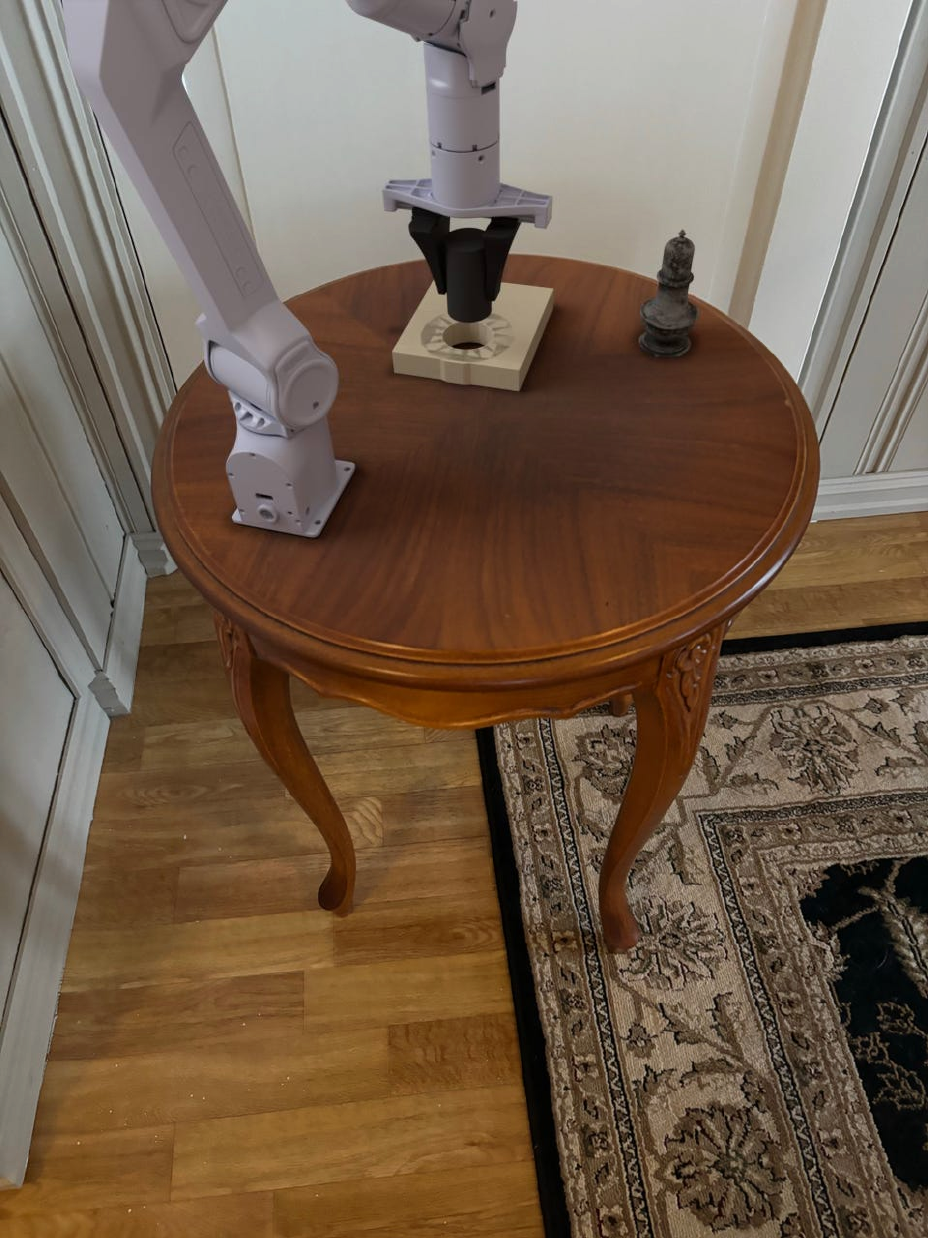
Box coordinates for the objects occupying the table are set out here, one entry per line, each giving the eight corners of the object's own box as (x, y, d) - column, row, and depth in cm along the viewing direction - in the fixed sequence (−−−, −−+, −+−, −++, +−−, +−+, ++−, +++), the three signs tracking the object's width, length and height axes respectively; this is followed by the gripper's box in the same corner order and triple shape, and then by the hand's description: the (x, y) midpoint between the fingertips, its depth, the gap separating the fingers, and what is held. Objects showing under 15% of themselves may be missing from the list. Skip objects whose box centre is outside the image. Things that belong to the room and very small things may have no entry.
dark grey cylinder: (485, 325, 82) (483, 253, 76) (441, 319, 83) (437, 248, 77) (497, 301, 84) (496, 229, 79) (454, 296, 85) (451, 224, 80)
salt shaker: (625, 348, 91) (639, 234, 82) (651, 321, 94) (668, 208, 85) (677, 366, 89) (698, 251, 79) (703, 337, 92) (726, 224, 82)
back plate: (518, 393, 87) (519, 371, 85) (393, 374, 89) (390, 352, 87) (552, 309, 96) (554, 288, 94) (438, 294, 99) (437, 273, 97)
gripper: (563, 124, 72) (555, 279, 83) (396, 109, 75) (409, 261, 86) (543, 162, 68) (538, 320, 79) (366, 145, 71) (384, 299, 82)
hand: (469, 292), depth 82 cm, fingers closed on dark grey cylinder, 4 cm apart
